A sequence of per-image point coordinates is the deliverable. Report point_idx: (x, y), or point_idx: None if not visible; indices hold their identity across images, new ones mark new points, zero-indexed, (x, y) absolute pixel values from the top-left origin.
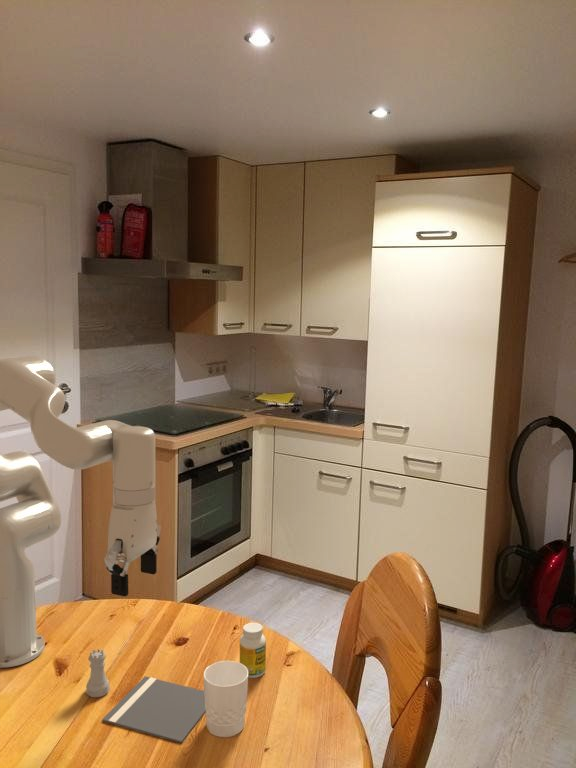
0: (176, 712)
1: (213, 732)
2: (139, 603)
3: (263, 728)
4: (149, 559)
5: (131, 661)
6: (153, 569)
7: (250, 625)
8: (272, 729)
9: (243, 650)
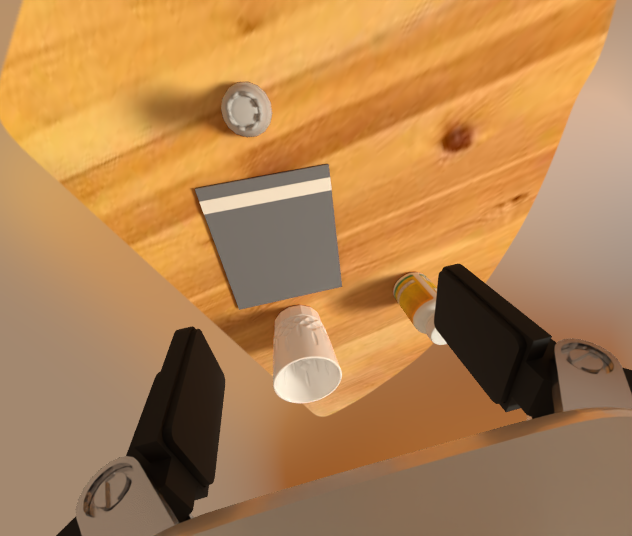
0: (279, 269)
1: (274, 326)
2: None
3: None
4: (483, 364)
5: (361, 94)
6: (446, 340)
7: None
8: None
9: (411, 309)
